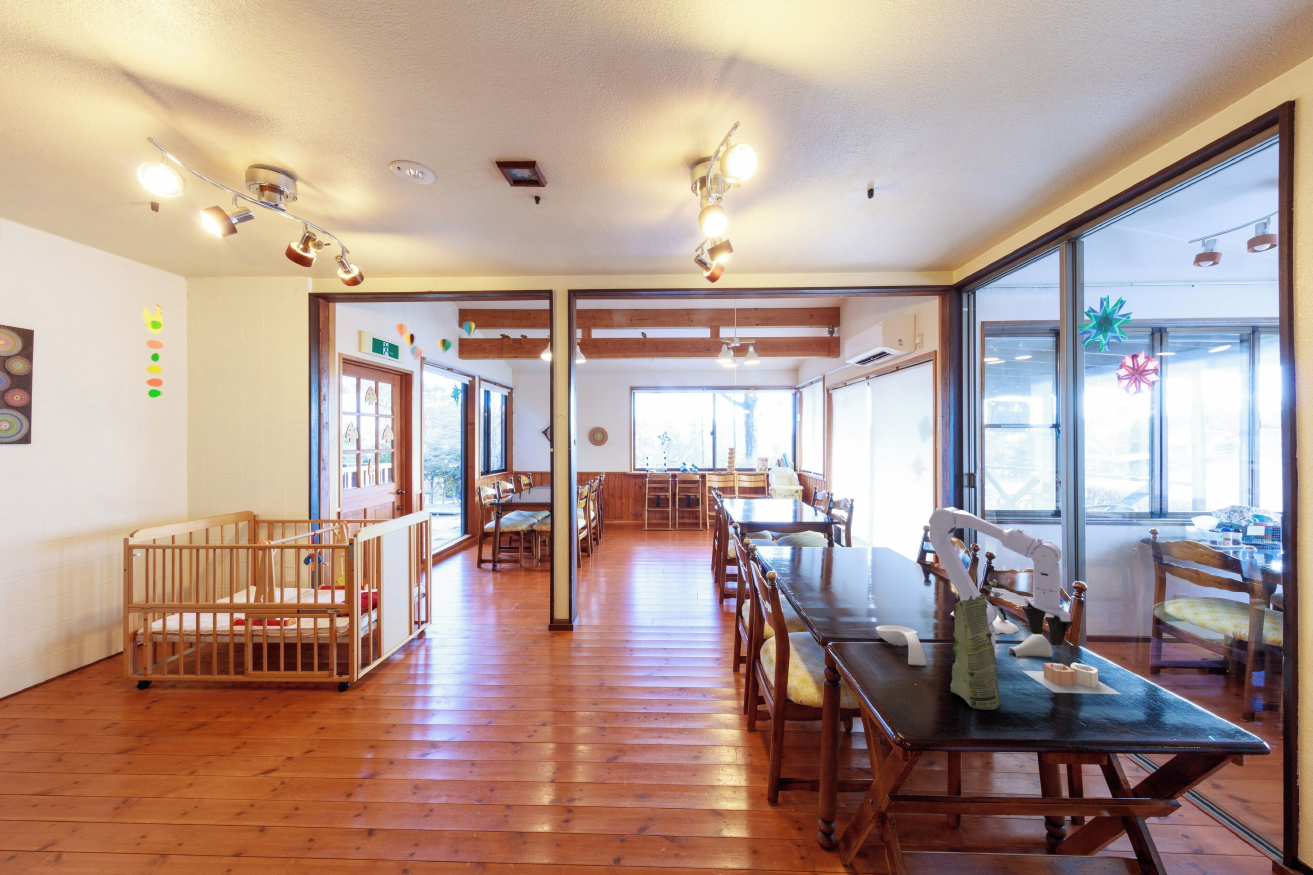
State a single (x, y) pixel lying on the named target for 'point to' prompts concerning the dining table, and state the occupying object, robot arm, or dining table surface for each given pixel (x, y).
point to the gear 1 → (1059, 675)
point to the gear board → (1076, 688)
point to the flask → (1033, 647)
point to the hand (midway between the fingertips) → (1046, 639)
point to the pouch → (974, 655)
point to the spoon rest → (904, 641)
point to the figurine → (999, 615)
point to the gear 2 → (1085, 675)
